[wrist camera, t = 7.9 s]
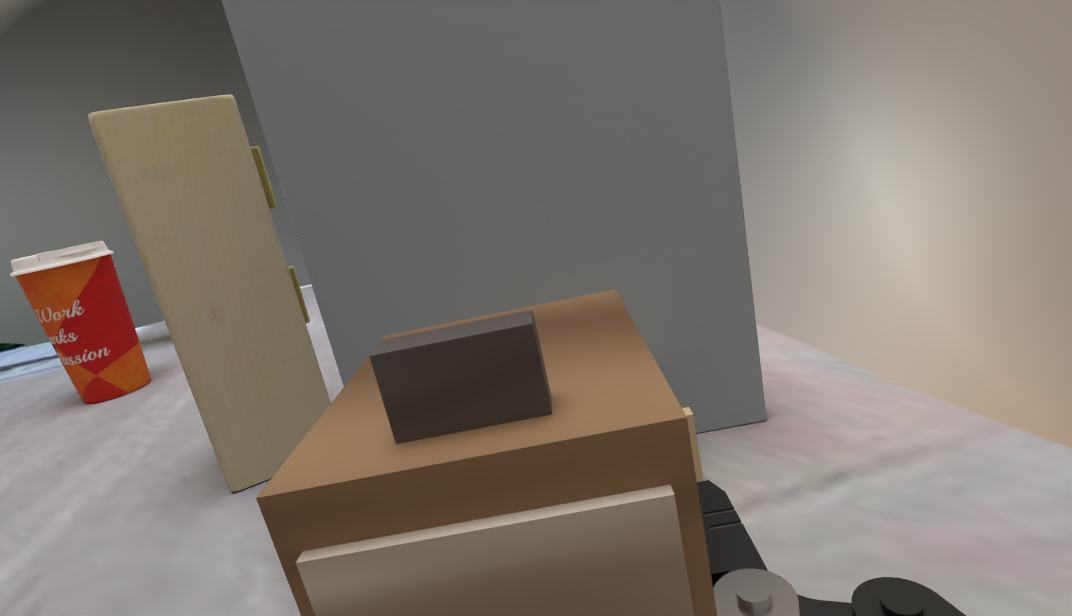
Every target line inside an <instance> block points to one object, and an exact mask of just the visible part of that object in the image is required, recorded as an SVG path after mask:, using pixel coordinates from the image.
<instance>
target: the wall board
mask: <svg viewBox="0 0 1072 616" xmlns="http://www.w3.org/2000/svg"><path fill="white" fill-rule="evenodd" d="M222 3H223V6H224V9H225V12H226V15H227V19H228V22H229V25H230V28H231V31H232V34H233V37H234V41H235V44H236V47H237V50H238V53H239V57H240V59H241V63H242V66H243V69H244V72H245V76H246V79H247V82H248V85H249V88H250V91H251V95H252V98H253V100H254V104H255V107H256V110H257V113H258V117H259V120H260V123H261V126H262V129H263V132H264V136H265V139H266V142H267V145H268V148H269V151H270V155H271V158H272V161H273V164H274V167H275V170H276V174H277V176H278V180H279V183H280V186H281V189H282V192H283V195H284V199H285V202H286V205H287V208H288V211H289V214H290V218H291V221H292V224H293V227H294V230H295V233H296V237H297V240H298V243H299V246H300V249H301V252H302V255H303V259H304V262H305V265H306V268H307V271H308V274H309V278H310V281H311V284H312V287H313V290H314V294H315V297H316V300H317V303H318V306H319V309H320V312H321V316H322V319H323V322H324V325H325V328H326V331H327V335H328V338H329V341H330V344H331V347H332V350H333V354H334V357H335V360H336V363H337V366H338V369H339V373H340V376H341V379H342V382H343V385H344V387H345V385H346V384H347V383H348V382H349V380H350V379H351V378H352V377H353V375H354V374H355V373H356V371H357V370H358V369H359V368H360V366H361V365H362V364H363V363H364V361H365V360H366V359H367V358H368V356H369V355H370V354H371V353H372V351H373V350H374V349H375V348H376V346H377V345H378V344H379V342H380V341H381V340H382V339H383V337H384V336H385V335H390V334H395V333H400V332H405V331H410V330H415V329H420V328H425V327H430V326H435V325H440V324H445V323H450V322H455V321H460V320H465V319H470V318H475V317H480V316H485V315H490V314H495V313H500V312H505V311H509V310H514V309H519V308H524V307H529V306H534V305H539V304H544V303H549V302H554V301H559V300H564V299H569V298H574V297H579V296H584V295H589V294H594V293H599V292H604V291H609V290H614V289H616V291H617V292H618V294H619V296H620V298H621V300H622V301H623V303H624V305H625V307H626V309H627V310H628V312H629V314H630V316H631V318H632V319H633V321H634V323H635V325H636V327H637V328H638V330H639V332H640V334H641V335H642V337H643V339H644V341H645V343H646V344H647V346H648V348H649V350H650V352H651V353H652V355H653V357H654V359H655V361H656V362H657V364H658V366H659V368H660V370H661V371H662V373H663V375H664V377H665V379H666V380H667V382H668V384H669V386H670V388H671V389H672V391H673V393H674V395H675V397H676V398H677V400H678V402H679V404H680V406H681V407H682V409H683V411H684V413H685V415H686V416H687V421H688V428H689V434H690V441H691V447H692V454H693V460H694V467H695V474H696V480H697V482H701V481H703V478H702V471H701V464H700V457H699V450H698V444H697V437H696V433H700V432H705V431H711V430H716V429H722V428H727V427H732V426H738V425H743V424H749V423H754V422H759V421H765V420H767V419H766V410H765V401H764V392H763V383H762V374H761V365H760V356H759V347H758V338H757V329H756V321H755V312H754V303H753V293H752V284H751V276H750V266H749V257H748V248H747V240H746V230H745V221H744V212H743V204H742V194H741V185H740V176H739V167H738V159H737V149H736V141H735V132H734V122H733V113H732V105H731V96H730V87H729V78H728V69H727V60H726V50H725V42H724V32H723V24H722V15H721V5H720V0H222Z"/></svg>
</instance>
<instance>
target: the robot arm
mask: <svg viewBox="0 0 1072 616" xmlns="http://www.w3.org/2000/svg"><path fill="white" fill-rule="evenodd" d="M697 487H698V493H699V500H700V506H701V513H702V519H703V526H704V532H705V539H706V545H707V552H708V559H709V565H710V572H711V578H712V585H713V591H714V598H715V604H716V611H717V616H966V615H964V614H963V613H962V612H960V611H959V610H958V609H957V608H955V607H954V606H953V605H951V604H950V603H949V602H947V601H946V600H945V599H944V598H942V597H941V596H940V595H938V594H937V593H935V592H934V591H933V590H931V589H929V588H927V587H925V586H923V585H921V584H919V583H916V582H913V581H910V580H906V579H901V578H893V577H881V578H874V579H871V580H868V581H866V582H864V583H862V584H861V585H859V586H858V587H857V588H856V589H855V591H854V593H853V595H852V603H845V602H834V601H823V600H815V599H810V598H806V597H803V596H800V595H797V594H796V592H795V590H794V589H793V587H792V586H791V585H790V584H789V583H788V582H787V581H786V580H785V579H783V578H782V577H780V576H778V575H776V574H774V573H772V572H769V571H768V570H767V568H766V566H765V564H764V562H763V561H762V559H761V557H760V555H759V553H758V551H757V550H756V548H755V546H754V544H753V542H752V540H751V539H750V537H749V535H748V533H747V531H746V529H745V527H744V526H743V524H741V520H740V518H739V516H738V515H737V513H736V511H734V507H733V505H732V504H731V502H730V500H729V498H728V496H727V494H726V493H725V491H723V490H722V489H720V488H719V487H717V486H716V485H715V484H713V483H712V482H710V481H709V480H707V481H701V482H697Z"/></svg>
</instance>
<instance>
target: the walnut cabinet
mask: <svg viewBox="0 0 1072 616" xmlns="http://www.w3.org/2000/svg"><path fill="white" fill-rule="evenodd" d="M256 499H257V502H258V504H259V507H260V509H261V512H262V515H263V517H264V520H265V522H266V525H267V528H268V530H269V533H270V536H271V538H272V541H273V543H274V546H275V549H276V551H277V554H278V556H279V559H280V562H281V564H282V567H283V570H284V572H285V575H286V577H287V580H288V583H289V585H290V588H291V590H292V593H293V596H294V598H295V601H296V604H297V606H298V609H299V611H300V614H301V616H717V611H716V604H715V598H714V591H713V585H712V578H711V572H710V565H709V559H708V552H707V545H706V539H705V532H704V526H703V519H702V513H701V506H700V500H699V493H698V487H697V480H696V474H695V467H694V460H693V454H692V447H691V441H690V434H689V428H688V421H687V416H686V415H685V413H684V411H683V409H682V407H681V406H680V404H679V402H678V400H677V398H676V397H675V395H674V393H673V391H672V389H671V388H670V386H669V384H668V382H667V380H666V379H665V377H664V375H663V373H662V371H661V370H660V368H659V366H658V364H657V362H656V361H655V359H654V357H653V355H652V353H651V352H650V350H649V348H648V346H647V344H646V343H645V341H644V339H643V337H642V335H641V334H640V332H639V330H638V328H637V327H636V325H635V323H634V321H633V319H632V318H631V316H630V314H629V312H628V310H627V309H626V307H625V305H624V303H623V301H622V300H621V298H620V296H619V294H618V292H617V291H616V289H614V290H609V291H604V292H599V293H594V294H589V295H584V296H579V297H574V298H569V299H564V300H559V301H554V302H549V303H544V304H539V305H534V306H529V307H524V308H519V309H514V310H509V311H505V312H500V313H495V314H490V315H485V316H480V317H475V318H470V319H465V320H460V321H455V322H450V323H445V324H440V325H435V326H430V327H425V328H420V329H415V330H410V331H405V332H400V333H395V334H390V335H385V336H384V337H383V339H382V340H381V341H380V342H379V344H378V345H377V346H376V348H375V349H374V350H373V351H372V353H371V354H370V355H369V356H368V358H367V359H366V360H365V361H364V363H363V364H362V365H361V366H360V368H359V369H358V370H357V371H356V373H355V374H354V375H353V377H352V378H351V379H350V380H349V382H348V383H347V384H346V385H345V387H344V388H343V389H342V390H341V392H340V393H339V394H338V395H337V397H336V398H335V399H334V400H333V402H332V403H331V404H330V406H329V407H328V408H327V409H326V411H325V412H324V413H323V414H322V416H321V417H320V418H319V419H318V421H317V422H316V423H315V424H314V426H313V427H312V428H311V429H310V431H309V432H308V433H307V435H306V436H305V437H304V438H303V440H302V441H301V442H300V443H299V445H298V446H297V447H296V448H295V450H294V451H293V452H292V453H291V455H290V456H289V457H288V458H287V460H286V461H285V462H284V464H283V465H282V466H281V467H280V469H279V470H278V471H277V472H276V474H275V475H274V476H273V477H272V479H271V480H270V481H269V482H268V484H267V485H266V486H265V487H264V489H263V490H262V491H261V493H260V494H259V495H258V496H257V498H256Z"/></svg>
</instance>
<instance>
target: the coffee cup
mask: <svg viewBox="0 0 1072 616" xmlns="http://www.w3.org/2000/svg"><path fill="white" fill-rule="evenodd" d="M112 253H113V251H109V250H108V248H107V246H106V245H105V243H104V242H103V241H98V242H93V243H88V244H84V245H79V246H74V247H70V248H65V249H60V250H55V251H51V252H44V253H40V254H36V255H33V256H28V257H24V258H19V259H14V260H12V261H11V264H12V268H13V273H11V276H16V278H17V280H18V282H19V284H20V285H21V287H22V289H23V291H24V293H25V295H26V297H27V298H28V301H29V302H30V304H31V306H32V308H33V310H34V312H35V314H36V315H37V317H38V319H39V321H40V323H41V325H42V327H43V328H44V330H45V332H46V334H47V336H48V338H49V340H50V342H51V344H52V345H53V347H54V349H55V351H56V353H57V355H58V357H59V358H60V360H61V362H62V364H63V366H64V368H65V370H66V371H67V373H68V375H69V377H70V379H71V381H72V382H73V384H74V386H75V388H76V390H77V391H78V393H79V395H80V396H81V398H82V400H83V401H84V403H86V404H94V403H99V402H104V401H108V400H111V399H114V398H117V397H120V396H123V395H126V394H128V393H131V392H133V391H136V390H138V389H140V388H142V387H144V386H145V385H147V384H148V383H149V382H150V381H151V378H150V374H149V371H148V368H147V364H146V361H145V358H144V355H143V352H142V349H141V345H140V342H139V339H138V336H137V333H136V330H135V327H134V324H133V321H132V318H131V315H130V312H129V309H128V306H127V303H126V300H125V297H124V294H123V291H122V288H121V285H120V282H119V279H118V276H117V273H116V270H115V267H114V264H113V261H112V258H111V255H110V254H112Z"/></svg>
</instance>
